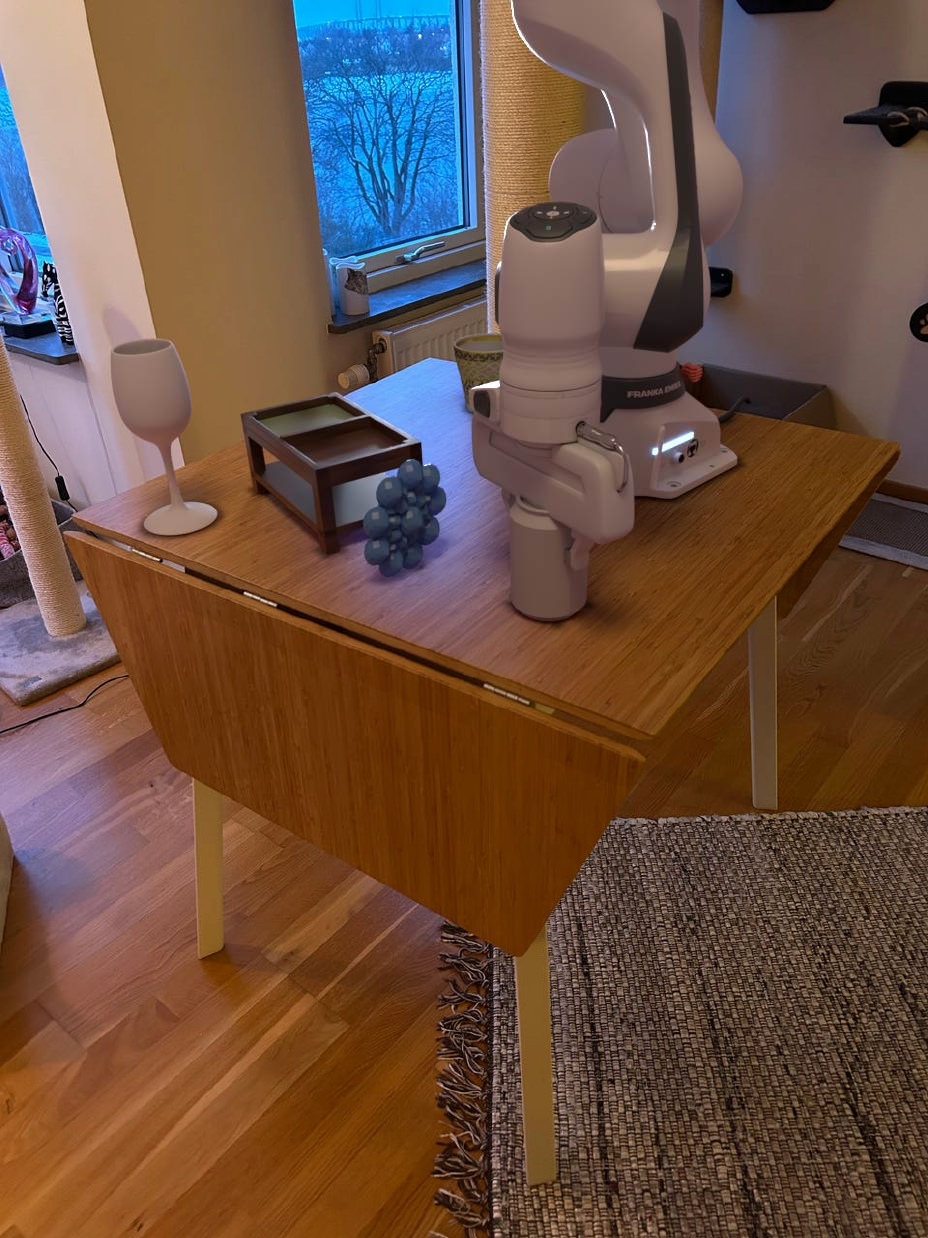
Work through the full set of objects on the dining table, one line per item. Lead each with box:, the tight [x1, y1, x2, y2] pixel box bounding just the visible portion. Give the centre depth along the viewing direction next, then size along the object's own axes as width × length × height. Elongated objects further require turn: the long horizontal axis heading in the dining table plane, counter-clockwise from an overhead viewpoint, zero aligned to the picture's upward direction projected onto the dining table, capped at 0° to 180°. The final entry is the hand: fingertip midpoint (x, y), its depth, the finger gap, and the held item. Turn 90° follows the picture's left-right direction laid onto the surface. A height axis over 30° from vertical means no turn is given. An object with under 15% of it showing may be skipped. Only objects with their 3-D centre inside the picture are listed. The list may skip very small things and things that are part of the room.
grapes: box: [363, 459, 447, 579], centre depth 96 cm, size 12×7×12 cm, turn 138°
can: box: [509, 494, 589, 622], centre depth 88 cm, size 8×8×12 cm
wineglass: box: [110, 337, 218, 536], centre depth 105 cm, size 9×9×21 cm
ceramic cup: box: [452, 332, 503, 414], centre depth 139 cm, size 13×10×10 cm
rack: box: [239, 391, 424, 556], centre depth 110 cm, size 13×22×10 cm, turn 33°
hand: (547, 547), depth 88 cm, fingers closed on can, 7 cm apart
